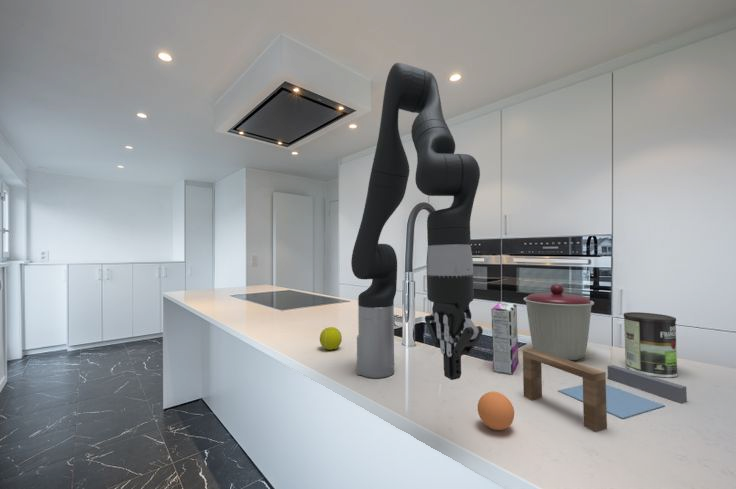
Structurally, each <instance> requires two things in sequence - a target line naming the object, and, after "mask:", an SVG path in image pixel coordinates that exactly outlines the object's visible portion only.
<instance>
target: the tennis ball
mask: <svg viewBox="0 0 736 489" xmlns="http://www.w3.org/2000/svg"><path fill="white" fill-rule="evenodd" d="M342 337H343V336H342V334H341V331H340V330H339V329H338V328H336V327H333V326H331V327H330V326H329V327H326V328H324V329H323V330H322V331H321V332H320V336H319V342H320V345H321V346H322V348H324V349H325V350H328V351H333V349H334V350H336V349H337V348H339V347H340V345H341V344H342V340H343V338H342Z"/></svg>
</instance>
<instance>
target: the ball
mask: <svg viewBox="0 0 736 489" xmlns="http://www.w3.org/2000/svg"><path fill="white" fill-rule="evenodd" d="M477 413H478V417H479V418H480V420H481V421H482V422H483V424H484V425H485V426H487V427H488V428H490V429H492V430H494V431H503V430H506V429H507V428H509V427H510V426H511V425H512V424H513V422H514V419H515V409H514V406H513V403H512V402H511V401H510V399H509V398H508V397H507V396H506V395H504V394H503V393H501V392H498V391H488V392H486V393H484V394H483V395H481V396H480V398H479V400H478V402H477Z"/></svg>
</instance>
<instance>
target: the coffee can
mask: <svg viewBox="0 0 736 489" xmlns="http://www.w3.org/2000/svg"><path fill="white" fill-rule="evenodd" d="M623 322H624V323H623V324H624V347H625V348H624V349H625V350H624V354H625V365H624V366H625V369H628V370H632V371H635V372H638V373H642V374H645V375H648V376H652V377H655V378H665V379H667V378H669V379H670V378H671V379H673V378H676V377H678V363H677V362H678V360H677V359H678V357H677V356H678V355H677V353H678V352H677V325H676V322H677V318H676V317H674V316H671V315H666V314H660V313H659V314H658V313H650V312H641V311H640V312H637V311H635V312H633V311H632V312H630V311H629V312H624V313H623Z"/></svg>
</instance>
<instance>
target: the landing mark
mask: <svg viewBox="0 0 736 489" xmlns="http://www.w3.org/2000/svg"><path fill="white" fill-rule="evenodd" d="M557 392H558V393H561V394H563V395H565V396H568V397H570V398H573V399H574V400H578V401H579V402H582V403H583V384H579V385H575V386H572V387H566V388H562V389H558V390H557ZM664 407H666V405H665V404H662V403H659V402H656V401H654V400H651V399H649V398H645V397H644V396H643V397H642V396H640V395H636V394H634V393H632V392H628V391H625V390H622V389H620V388H617V387H614V386H612V385H609V384H606V408H607V414H609V415H613V416H615V417H617V418H619V419H621V420H624V419H627V418H630V417H635V416H638V415H640V414H644V413H648V412H651V411H654V410H657V409H661V408H664Z"/></svg>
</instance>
